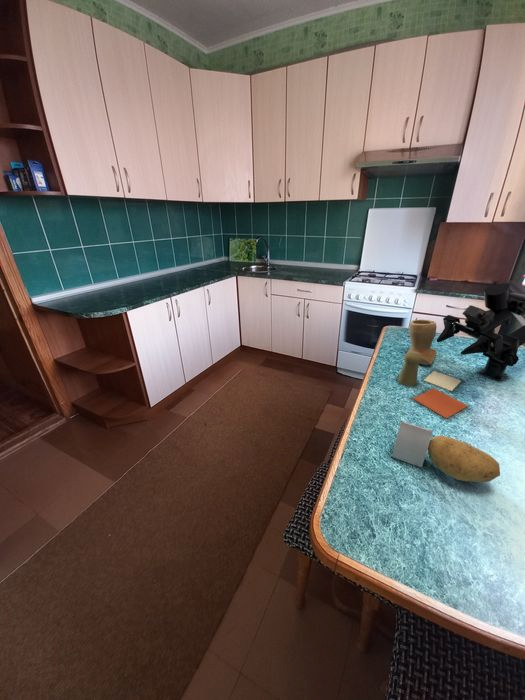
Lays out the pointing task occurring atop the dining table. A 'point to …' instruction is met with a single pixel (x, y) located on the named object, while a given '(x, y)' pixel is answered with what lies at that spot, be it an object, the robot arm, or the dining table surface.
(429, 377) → the cream mat
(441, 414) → the terracotta mat
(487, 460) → the potato
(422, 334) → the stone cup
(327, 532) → the dining table surface
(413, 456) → the grey rectangular block
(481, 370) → the robot arm
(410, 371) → the cork
